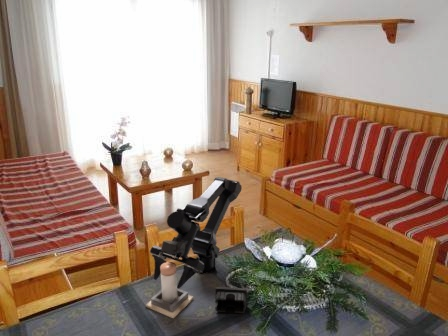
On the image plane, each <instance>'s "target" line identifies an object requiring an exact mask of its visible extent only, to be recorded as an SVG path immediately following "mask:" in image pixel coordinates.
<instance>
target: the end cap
mask: <svg viewBox="0 0 448 336" xmlns="http://www.w3.org/2000/svg"><path fill="white" fill-rule="evenodd" d="M214 292H215V300H214V302H215V304H214V305H215V306H214V308H215V315H218V316H231V317H232V316H234V317H244V316H245V314H246V312H245V311H246V309H247V308H246V307H247V304H248V303H247V302H248V301H247V299H248V289H247V288H246V287H245V288H244V287H242V288H241V287H227V286H226V287H225V286H216V287H215V291H214Z"/></svg>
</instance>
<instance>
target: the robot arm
mask: <svg viewBox="0 0 448 336" xmlns="http://www.w3.org/2000/svg"><path fill="white" fill-rule="evenodd" d="M241 192H242V185H241V182H240V181H237V180H232V179H228V178H225V177H221V176H220V177H219V176H217V177H215V178H214V179H213V182H212V183H211V184H210V185H209V186H208V187H207V189H206V190H205V191H204V192H203V193H202V194H201V195H200V196H198V197H197V198H194V199H192V200H190V201H189V202H188V203H187V204H186V205H185V206H184V207H182V208H178V207H177V209H176V211H173V212H171V213H170V214H169V215H168V217H167V218H166V223H167V226H168V227H169V228H170V229H171V230H172V231H174V232H176V233H177V235H176V236H174V237H173V238H172V240H162V245H161V247H160V246H159V245H158V246H157V245H156V244H155V245H153V246H152V247H150V250H149V253H150V254H151V257H152V258H153V260H154V275H153V276H154V277H153V279H154V280H155V281H157V280H158V278H159V277H160V276H161V271H160V266H161V265H162V264H163V263H166V262H168V261H167V260H166V259H170V260H172V261H175V262H179V263H181V264H184V265H183V271H182V274H181V276H180V279H179V280H178V282H177V288H178V289H180V290H181V288H182V287H183V286H184V285H185V283H186V282H187V281H188V280H190V279H191V278H192V277H193V276H194V275H196V274H200V275H205V274H210V273H215V272H217V271H218V268H217V267H216V259H218V258H219V254H220V247H218V246H217V243H218V241H217V237H216V236H217V233H218V230H219V228H220V226H221V224H222V222H223V219H224V217H225V215H226V213H227V211H228V209H229V207H230V204H231V203H232V202H234V201H235V200H236V199H238V197H239V194H241ZM215 201H216V203H215V204H214V202H215ZM213 204H214V207H213V209H212V211H211V213H210V208H211V206H212V205H213ZM208 216H209V217H208ZM207 218H208V220H207V221H206V224H205V226H204V228H203V229H202V230H201V226H200V223H203V222H204V221H205V220H206V219H207ZM190 250H192V253H193V255H196V256H197V257H195V258H194V257H192V256H189V253H190Z"/></svg>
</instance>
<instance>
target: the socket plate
mask: <svg viewBox="0 0 448 336" xmlns="http://www.w3.org/2000/svg"><path fill="white" fill-rule="evenodd" d="M177 294H178V299H177V300H176V301H175V302H174V303H173V304H172V305H171V304H169V303H166V302H164V301H162V289H160V290H159V291H158V292H157V293H155V294H154V295H153V296H152V297H151V298H150V301H148V302H147V303H146V304H145V307H146V308H148V309H151V310H153V311H155V312H157V313H159V314H162V315H164V316H166V317H169V318H171V319H175V318H176V317H177V316H178V315H179V314H180V313H181V312H182V311H183V309H185V308H186V306H188V305H189V304H190V303H191V302H192V301H193V300H194V295H190V294H189V292H188V291H185V290H183V289H181V288H180V289H178V288H177Z"/></svg>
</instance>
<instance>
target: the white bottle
mask: <svg viewBox="0 0 448 336" xmlns="http://www.w3.org/2000/svg"><path fill="white" fill-rule="evenodd" d="M160 271H161V273H160V283H161V285H160V286H161V290H162V301H164V302H166V303H169V304H171V305H172V304H173V303H174V302H175V301H176V300H177V299H178V294H177V286H178V277H177V276H178V275H177V264H176V262H172V261H167V262H166V263H163V264H162V265H161V266H160Z"/></svg>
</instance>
